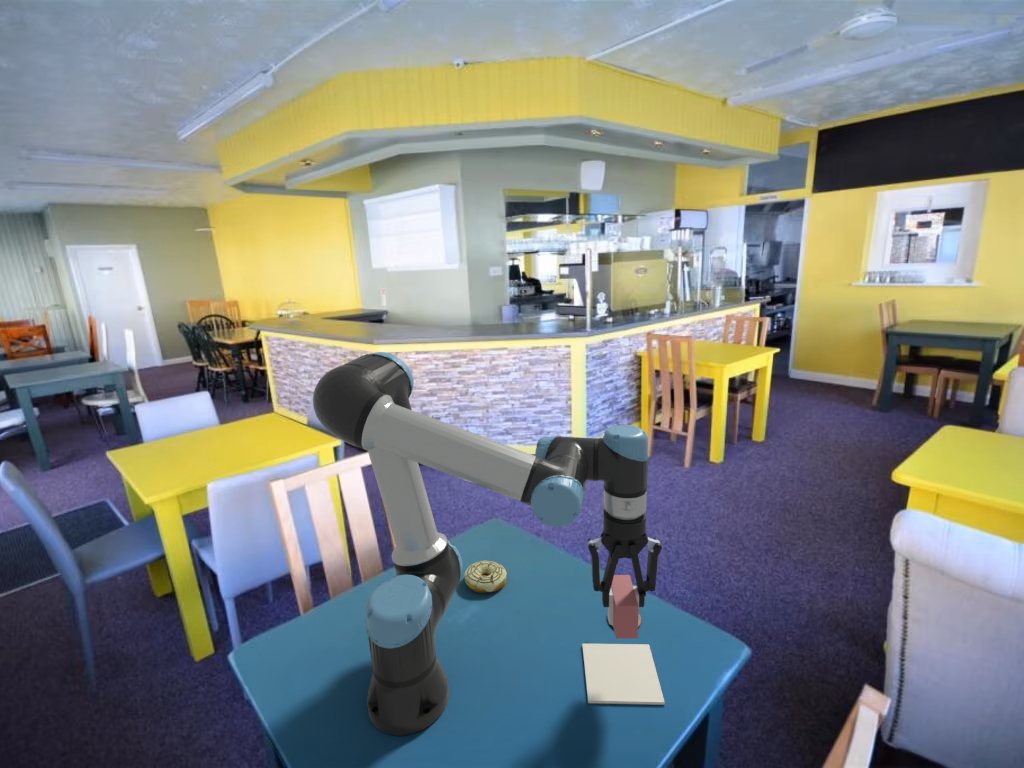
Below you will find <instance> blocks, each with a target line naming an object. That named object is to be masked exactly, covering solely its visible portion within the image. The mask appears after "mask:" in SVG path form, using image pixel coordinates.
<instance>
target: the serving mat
mask: <svg viewBox="0 0 1024 768" xmlns="http://www.w3.org/2000/svg"><path fill="white" fill-rule="evenodd" d="M581 645H582V656H583V662H584V663H583V664H584V674H585V685H586V694H587V695H586V697H587V703H588V704H607V705H610V704H613V705H615V704H616V705H657V706H658V705H659V706H660V705H661V706H665V698H664V695H663V692H662V687H661V683H660V680H659V677H658V676H659V675H658V673H657V669H656V665H655V661H654V658H653V654H652V650H651V647H650V644H648V643H647V644H643V643H642V644H641V643H640V644H638V643H635V644H633V643H582V644H581Z"/></svg>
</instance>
